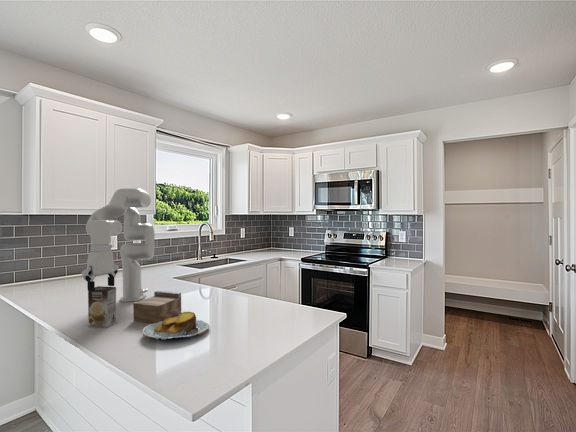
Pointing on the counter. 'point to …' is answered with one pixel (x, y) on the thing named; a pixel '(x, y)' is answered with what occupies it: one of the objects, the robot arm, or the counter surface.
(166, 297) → the display stand
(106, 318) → the coffee box
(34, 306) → the counter surface
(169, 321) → the food on plate
